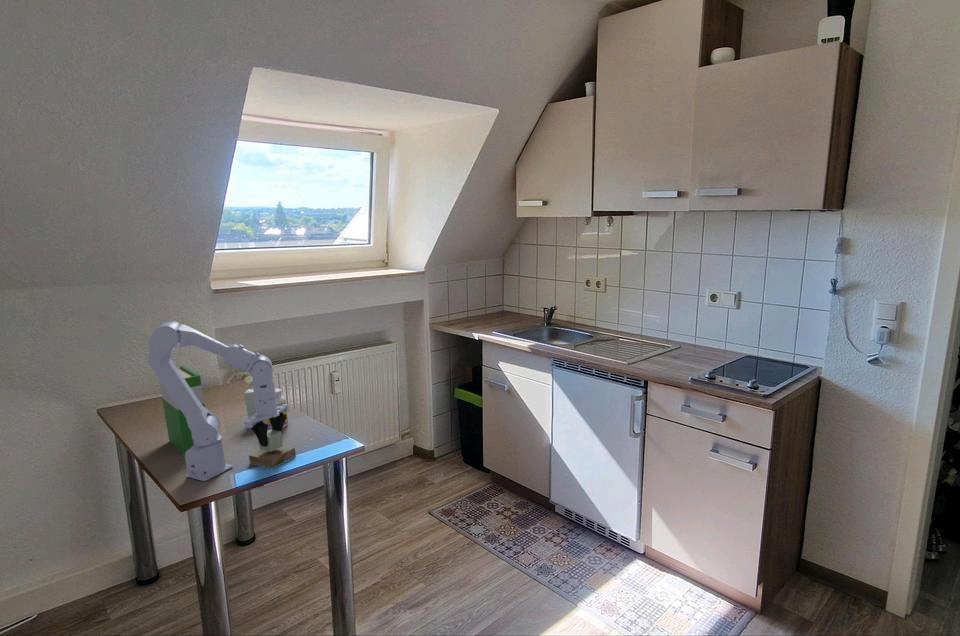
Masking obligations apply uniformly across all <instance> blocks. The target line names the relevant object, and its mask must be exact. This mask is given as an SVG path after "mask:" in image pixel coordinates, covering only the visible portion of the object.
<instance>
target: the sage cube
mask: <svg viewBox="0 0 960 636" xmlns="http://www.w3.org/2000/svg"><path fill="white" fill-rule="evenodd" d="M267 440H268V445H267V446H266V447H264V446H261V445H260V442H259V441H258V447H259V450H264V451H269V452H272V451H274V450H276V449H278V448H280V447H281V446H283V445H284V444H283V443H284V442H283V435H282V434H281V431H276V430H272V429H268V430H267Z"/></svg>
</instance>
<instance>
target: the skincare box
mask: <svg viewBox="0 0 960 636" xmlns="http://www.w3.org/2000/svg"><path fill="white" fill-rule="evenodd" d="M243 395H244V401H245V406H246V411H247V419H249V418H251V417H252V416H253V415H255V414H256V406H255V398H254V391H253V388H250V389H249V388H248V389H246V391H245V392H244V393H243ZM263 423H264V424H267V420H265V421H263Z"/></svg>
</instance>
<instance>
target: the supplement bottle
mask: <svg viewBox="0 0 960 636" xmlns="http://www.w3.org/2000/svg"><path fill="white" fill-rule="evenodd" d="M275 394H276V402H277V406H280V405H282V404H287V402H286V401H287V400H286V398H285V396H284V395H282V394H283V393H282V389H281V388H276V387H275ZM283 414H286V417H287V418H286V420H285V422H284V425H283V429H284V428H286V427H287V426H288V424H289V420H288V411H287V412H283ZM267 425H268V430H270V429H271V430H272V426H271V423H270V420H269V419H267Z"/></svg>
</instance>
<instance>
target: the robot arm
mask: <svg viewBox="0 0 960 636" xmlns="http://www.w3.org/2000/svg"><path fill="white" fill-rule="evenodd" d="M147 342H148V356H147V357H148V358H147V363H148V365H149V367H150V369H152V371H153V373H154V374H155V375H156V377H157V378H158V381H159V380H160V381H161V382H162V384H163V385H164V387H165V388H166V390H167V391H168V393H169V394H170V395H171V397H172V398H173V400H174V401H175V403H176V404H177V406H178V407H179V408H180V410H181V411H182V413H183V414H184V416H185V417H186V420H187V424H188V427H189V429H190V430H191V433H192V439H193V441H194V442H193V443H194V445H193V446H192V447H191V448H190V449H189V450H187V451H186V453H185V456H184V459H185V466H186V472H187V474H186V475H185V476H186V477H187V478H190V479H195V480H197V481H201V482H207V481H209V480H211V479H212V478H215V477H216V476H219V475H220V474H222V473H224V472H226V471H228V470H230V469H232V468H233V467H234V465H233V464H229V463H226V457H225V451H224V450H225V449H224V442H223V437H222V435H220V434H219V432H218V431H219V429H220V425H221V422H220V419H219V417H217V416H216V415H214V414H213V413H211V412H210V411H209V409H208V408H207V407H206V406H205V407H204V406H202V404H201V403H200V401H199V400H198V398H197V397H196V395H195V394H194V392H193V391H192V389H191V388H190V386H189V385H188V384H187V382H186V381H185V379H184V378H183V376H182V375H181V373H180V372H179V370H178V369H179V368H177V366H176V363H174V361H173V359H172V356H173V354H174V352H175V347H176V346H177V345H178V343H179V348H182V347H188V346H194V347H197V348H199V349H202V350H203V351H207V352H209V353H212V354H215V355H217V356H220V357H222V360H223V362H224V364H227V365H229V366H231V367H234V368H236V369H238V370H241V371H243V372H245V373H250V376H251V377H252V382H253V383H252V389H253V391H254V398H255V406H256V414H255V415H253V416H252V417H251V418H249V419H248V418H247V419H245V420H244V421H243V422H244V427H245V428H247V429H250V430H252V431H253V433H254V434H255V436H256V437H257V440H258V443H259V442H260V445H261V446H264V447H266V446H267V445H268V440H267V431H268V430H269V428H268V425H267V424H264V423H263V421H265V420H267V419H269V420H270V423H271V426H272V429H271V430H276V431H281V435H282V434H283V429H284V428H283V425H284V422H285V420H286V418H287V417H288V416H287V417H286V414H283V412H287V413H288V412H289V411H290V408H289V404H287V403H286V404H282V405H280V406H277V402H276V394H275V389H276V387H275V380H274V375H273V371H274V370H273V363H272V360H271V359H270V358H269V357H267V356H266V355H265V354H260V353H259V352H256V353H255V352H253V351H251V350H248V349H246V348H245V346H244V345H243V344H230V345H226V344H225V343H223V342H221V341H218V340H216V339H215V338H213V337H210V336H208V335H207V334H204V333H203V332H201V331H199V330H197V329H195V328H193V327H191V326H189V325H186V324H180V323H179V322H177V320H176V321H174V320H165V321H163V322H161V323H160V324H159V326H158V327H156V328H155V329H154V330H153V332H152V333H151V335H150V338H149V339H148V341H147Z"/></svg>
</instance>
